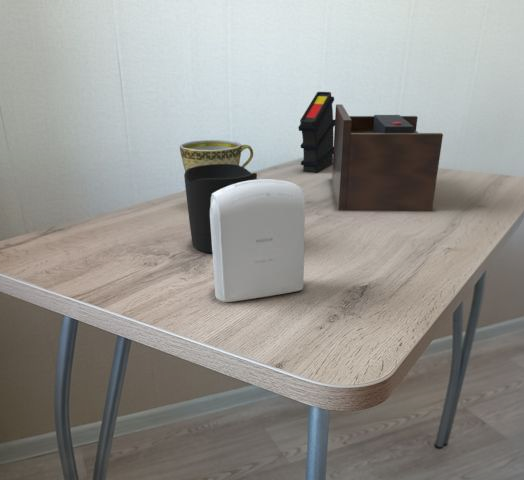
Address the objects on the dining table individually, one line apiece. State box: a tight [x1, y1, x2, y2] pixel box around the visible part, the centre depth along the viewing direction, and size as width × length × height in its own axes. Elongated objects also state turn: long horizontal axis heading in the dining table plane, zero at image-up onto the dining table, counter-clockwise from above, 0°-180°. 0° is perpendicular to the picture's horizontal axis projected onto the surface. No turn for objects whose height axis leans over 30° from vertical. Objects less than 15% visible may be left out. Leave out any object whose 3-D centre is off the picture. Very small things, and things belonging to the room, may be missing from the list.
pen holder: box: [183, 164, 258, 255], centre depth 74 cm, size 9×9×10 cm
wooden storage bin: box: [331, 103, 444, 212], centre depth 97 cm, size 15×22×14 cm
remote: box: [373, 114, 414, 133], centre depth 94 cm, size 4×15×3 cm, turn 176°
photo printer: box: [210, 178, 306, 303], centre depth 59 cm, size 10×4×12 cm, turn 109°
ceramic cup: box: [179, 139, 254, 173], centre depth 92 cm, size 13×10×10 cm
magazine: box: [297, 91, 335, 174], centre depth 117 cm, size 4×13×15 cm, turn 155°
